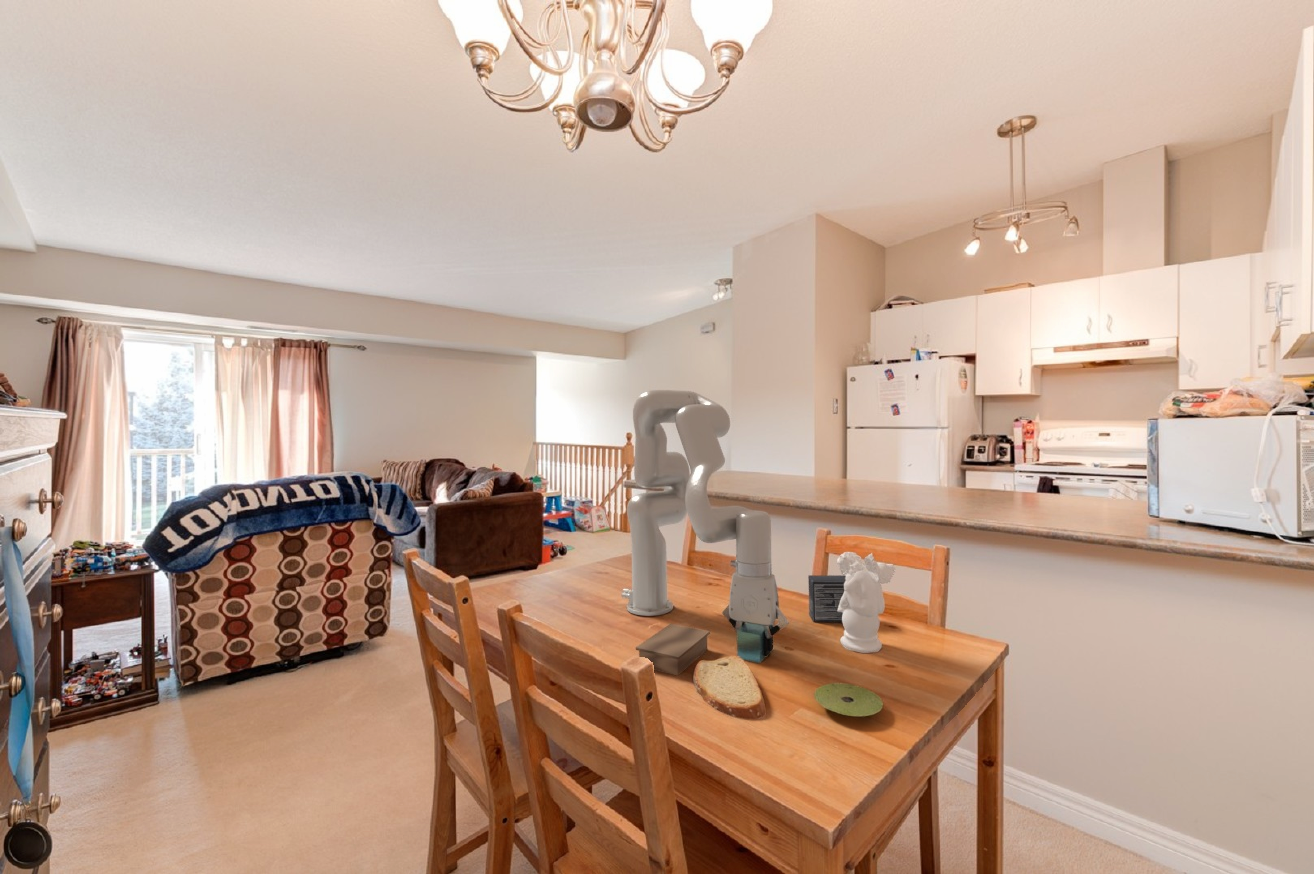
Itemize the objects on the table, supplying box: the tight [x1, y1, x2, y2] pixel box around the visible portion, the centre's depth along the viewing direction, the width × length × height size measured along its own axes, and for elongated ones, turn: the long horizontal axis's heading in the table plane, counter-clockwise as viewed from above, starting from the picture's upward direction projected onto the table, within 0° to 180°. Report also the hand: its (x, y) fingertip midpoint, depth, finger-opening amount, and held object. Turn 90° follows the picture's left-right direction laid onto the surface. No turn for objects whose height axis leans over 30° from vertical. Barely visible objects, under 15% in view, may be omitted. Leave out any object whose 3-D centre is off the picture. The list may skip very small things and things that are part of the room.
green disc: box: [814, 682, 884, 718], centre depth 93 cm, size 11×11×2 cm
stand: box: [635, 623, 711, 676], centre depth 115 cm, size 10×15×4 cm, turn 150°
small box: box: [807, 574, 846, 624], centre depth 137 cm, size 11×6×10 cm, turn 84°
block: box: [736, 622, 766, 664], centre depth 117 cm, size 5×8×6 cm, turn 150°
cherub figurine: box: [836, 551, 896, 654], centre depth 120 cm, size 12×12×22 cm
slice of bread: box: [692, 655, 767, 720], centre depth 102 cm, size 18×18×4 cm
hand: (755, 650), depth 117 cm, fingers closed on block, 5 cm apart
